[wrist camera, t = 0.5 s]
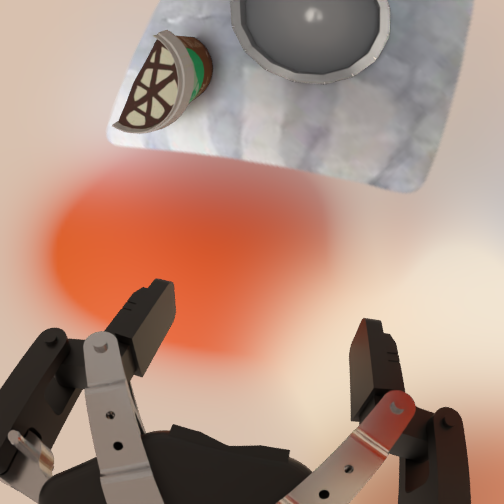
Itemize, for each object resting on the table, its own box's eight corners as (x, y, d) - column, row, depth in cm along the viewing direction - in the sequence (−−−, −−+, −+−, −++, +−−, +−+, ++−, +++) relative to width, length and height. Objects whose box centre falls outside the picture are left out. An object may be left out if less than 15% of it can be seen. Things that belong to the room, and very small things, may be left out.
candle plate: (216, -16, 24) (206, -19, 22) (349, -61, 17) (349, -69, 15) (273, 97, 32) (268, 102, 30) (406, 62, 25) (411, 64, 23)
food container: (191, 128, 37) (152, 159, 30) (156, 104, 36) (110, 129, 29) (242, 53, 29) (208, 61, 22) (200, 27, 28) (156, 30, 21)
